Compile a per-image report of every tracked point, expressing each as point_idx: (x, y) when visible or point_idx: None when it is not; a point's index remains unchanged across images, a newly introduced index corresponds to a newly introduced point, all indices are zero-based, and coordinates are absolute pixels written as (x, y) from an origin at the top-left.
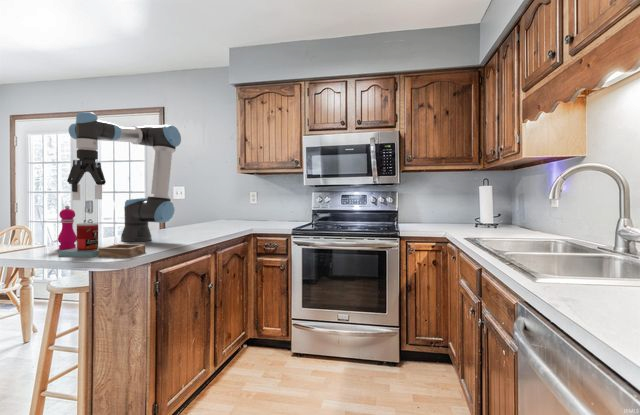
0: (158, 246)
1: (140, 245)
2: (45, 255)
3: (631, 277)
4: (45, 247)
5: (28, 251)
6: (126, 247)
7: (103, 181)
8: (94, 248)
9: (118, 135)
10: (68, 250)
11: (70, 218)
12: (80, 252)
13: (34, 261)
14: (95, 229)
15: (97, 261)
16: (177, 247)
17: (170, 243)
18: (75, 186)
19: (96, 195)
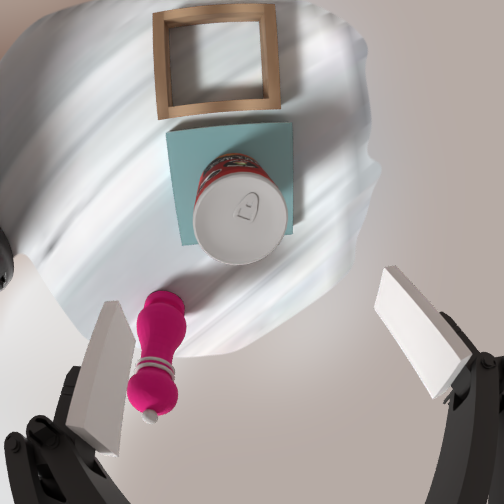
0: (32, 86)
1: (176, 15)
2: (281, 268)
3: None
4: (174, 354)
5: (236, 341)
6: (168, 76)
7: (29, 456)
8: (239, 153)
9: None
10: None
11: (154, 370)
12: (292, 163)
13: (362, 223)
14: (244, 166)
15: (345, 67)
16: (42, 19)
17: None
18: (468, 342)
19: (125, 357)
